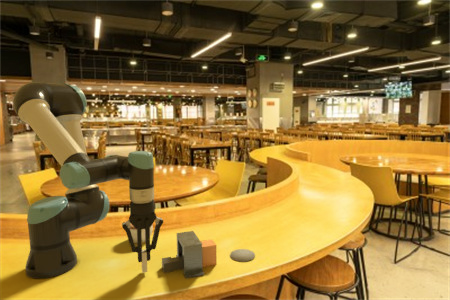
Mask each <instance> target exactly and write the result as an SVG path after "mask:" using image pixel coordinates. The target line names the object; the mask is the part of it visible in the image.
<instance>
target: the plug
mask: <svg viewBox="0 0 450 300" xmlns="http://www.w3.org/2000/svg"><path fill="white" fill-rule="evenodd" d="M200 242H201V243H202V268H204V267H210V266H215V265H217V244H216V243H215V241H214V240H213V239H206V240H200ZM161 268H162V271H163V274H166V273H171V272H172V273H173V272H174V271H177V270H179V271H180V270H183V256H180V257H176V256H175V257H171V256H168V257H162V258H161Z"/></svg>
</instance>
